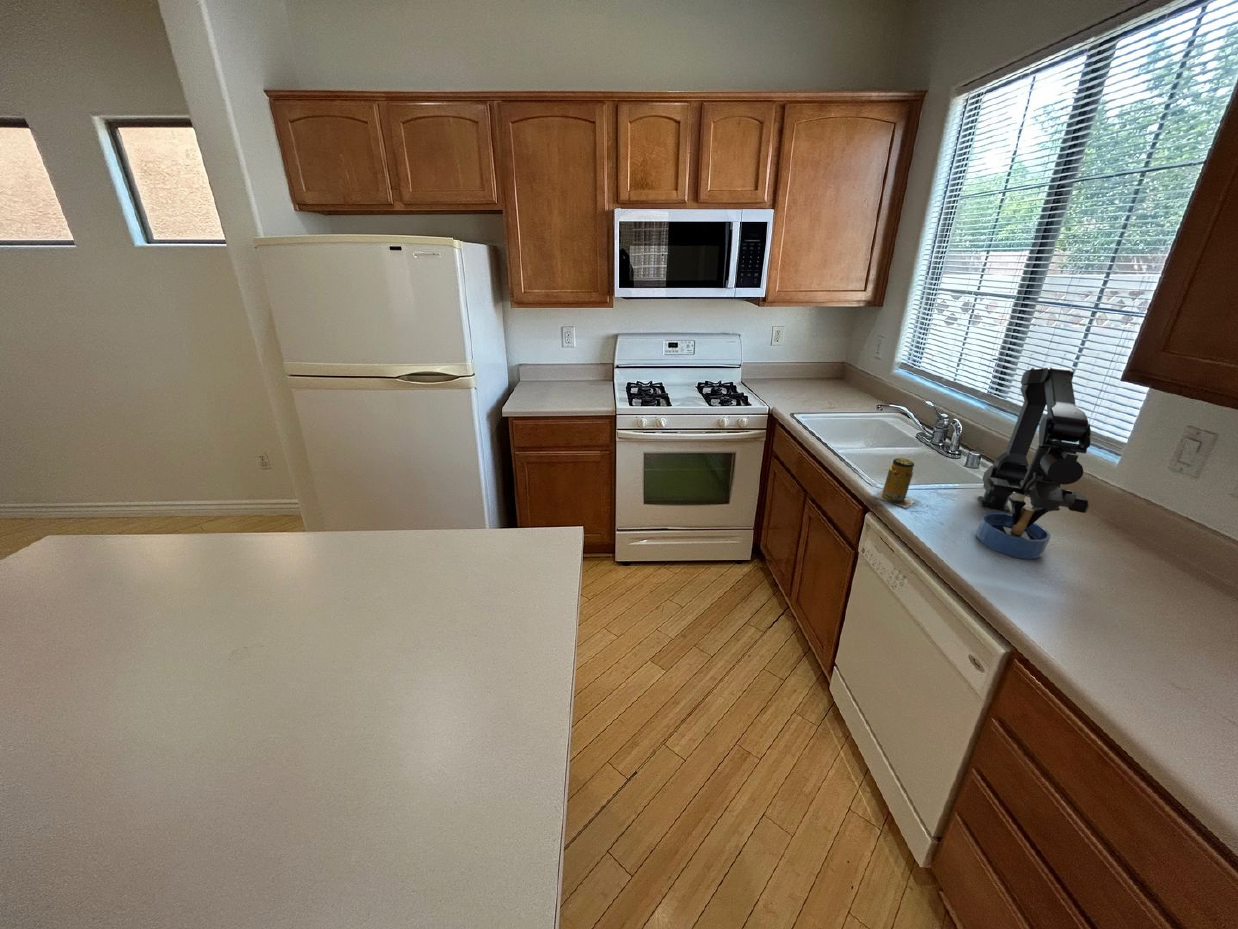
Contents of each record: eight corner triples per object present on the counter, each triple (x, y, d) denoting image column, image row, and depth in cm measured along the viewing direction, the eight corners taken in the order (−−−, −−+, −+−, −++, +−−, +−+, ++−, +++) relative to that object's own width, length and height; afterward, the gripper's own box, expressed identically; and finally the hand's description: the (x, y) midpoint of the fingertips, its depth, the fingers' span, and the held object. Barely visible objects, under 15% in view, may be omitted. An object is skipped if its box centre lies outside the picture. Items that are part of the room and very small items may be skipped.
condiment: (886, 490, 144) (897, 454, 139) (916, 501, 138) (928, 464, 133) (875, 497, 140) (886, 460, 135) (905, 509, 134) (917, 470, 129)
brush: (997, 536, 120) (1014, 502, 116) (1020, 541, 119) (1038, 507, 114) (1001, 544, 117) (1019, 509, 113) (1024, 550, 116) (1043, 515, 111)
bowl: (970, 526, 126) (977, 508, 124) (1031, 538, 122) (1039, 520, 119) (982, 551, 115) (990, 532, 113) (1049, 566, 111) (1058, 546, 108)
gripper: (1007, 472, 106) (982, 531, 112) (1114, 490, 99) (1082, 552, 106) (994, 454, 115) (972, 510, 122) (1092, 470, 108) (1063, 528, 115)
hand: (1020, 525), depth 116 cm, fingers closed on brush, 2 cm apart
